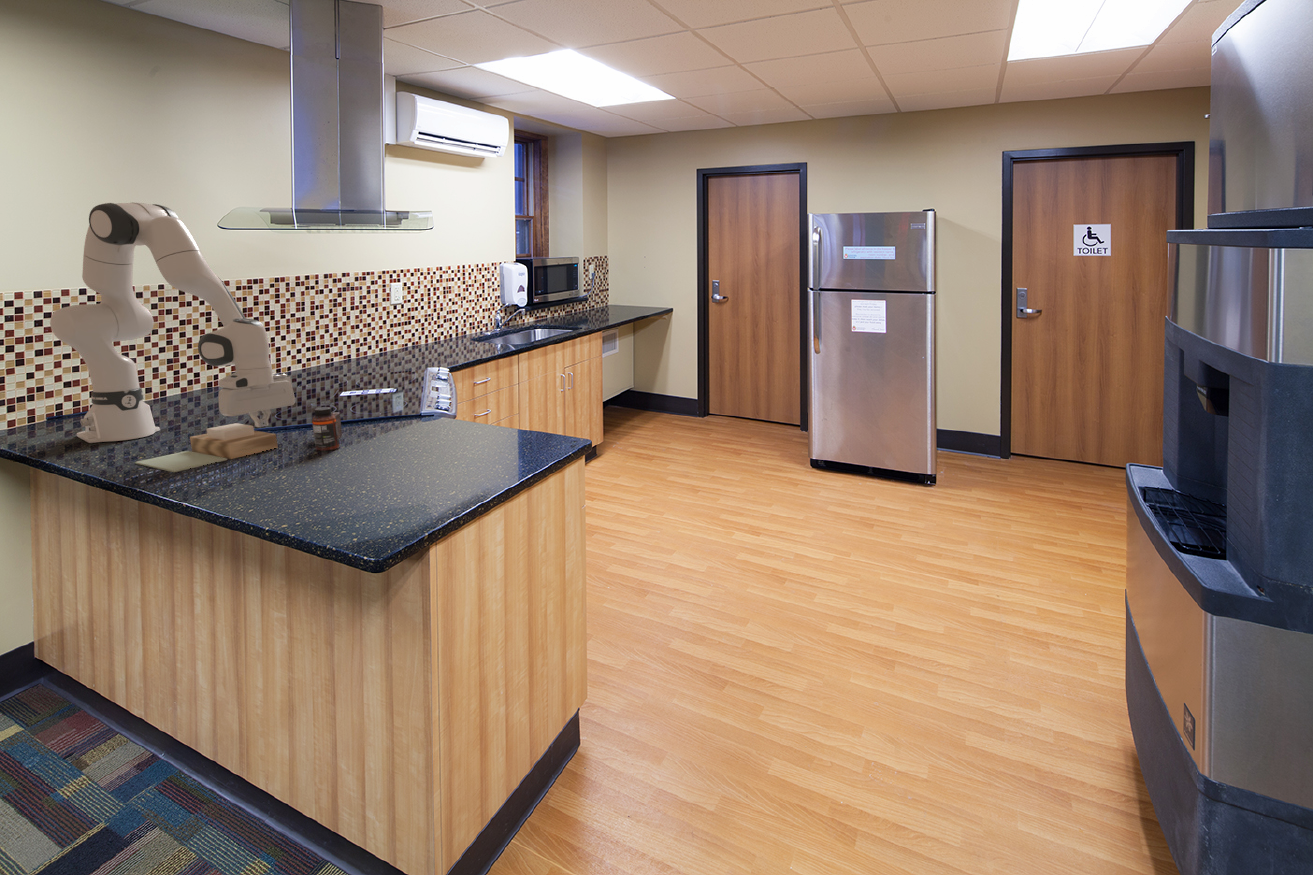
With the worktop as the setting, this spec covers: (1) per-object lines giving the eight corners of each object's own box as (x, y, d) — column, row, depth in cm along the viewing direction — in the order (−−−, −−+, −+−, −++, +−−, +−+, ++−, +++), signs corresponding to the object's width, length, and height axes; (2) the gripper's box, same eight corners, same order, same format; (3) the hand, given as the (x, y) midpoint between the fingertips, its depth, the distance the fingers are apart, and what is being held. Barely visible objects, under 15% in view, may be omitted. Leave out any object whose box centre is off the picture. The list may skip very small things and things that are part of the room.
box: (315, 442, 204) (312, 416, 202) (320, 437, 210) (317, 412, 208) (338, 440, 205) (335, 415, 203) (342, 436, 211) (340, 411, 209)
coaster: (207, 437, 193) (206, 428, 192) (237, 431, 200) (235, 423, 199) (225, 440, 189) (223, 431, 188) (254, 434, 196) (253, 425, 195)
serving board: (192, 451, 194) (189, 437, 193) (239, 441, 205) (237, 427, 204) (231, 459, 186) (228, 444, 185) (277, 448, 197) (275, 434, 196)
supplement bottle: (332, 445, 200) (328, 405, 197) (343, 448, 196) (339, 407, 194) (311, 449, 195) (306, 408, 193) (322, 452, 192) (317, 411, 189)
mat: (135, 463, 182) (135, 461, 182) (188, 452, 194) (188, 450, 193) (174, 472, 174) (173, 470, 174) (227, 459, 185) (227, 458, 185)
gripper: (282, 372, 209) (289, 418, 212) (211, 382, 191) (219, 432, 195) (296, 373, 206) (302, 420, 209) (225, 383, 188) (233, 434, 192)
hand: (262, 426), depth 202 cm, fingers closed
